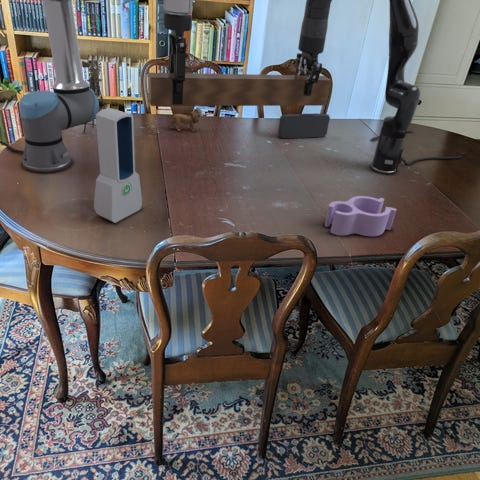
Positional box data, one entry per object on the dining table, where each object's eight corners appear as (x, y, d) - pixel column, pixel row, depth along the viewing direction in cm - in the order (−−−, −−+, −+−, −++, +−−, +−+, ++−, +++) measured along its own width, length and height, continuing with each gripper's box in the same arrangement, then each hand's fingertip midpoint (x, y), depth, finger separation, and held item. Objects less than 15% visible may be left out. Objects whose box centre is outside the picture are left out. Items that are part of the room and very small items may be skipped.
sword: (408, 129, 227) (409, 127, 226) (413, 131, 225) (414, 129, 224) (366, 140, 211) (366, 138, 210) (371, 143, 209) (371, 140, 208)
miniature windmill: (102, 136, 185) (96, 56, 168) (82, 132, 186) (74, 53, 169) (112, 128, 192) (107, 52, 176) (92, 125, 193) (86, 49, 177)
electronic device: (112, 224, 131) (106, 120, 115) (93, 216, 134) (84, 113, 118) (143, 208, 140) (140, 109, 124) (124, 200, 143) (119, 103, 127)
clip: (337, 240, 135) (342, 219, 131) (318, 218, 145) (322, 198, 141) (395, 233, 141) (402, 213, 137) (373, 213, 151) (378, 194, 147)
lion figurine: (199, 126, 204) (200, 106, 199) (202, 131, 200) (204, 110, 195) (166, 128, 199) (166, 107, 194) (169, 132, 195) (169, 111, 190)
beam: (151, 106, 132) (150, 77, 127) (148, 100, 136) (148, 72, 131) (326, 105, 148) (331, 80, 143) (319, 100, 151) (324, 75, 147)
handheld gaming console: (323, 134, 210) (328, 113, 204) (326, 137, 208) (331, 115, 202) (276, 136, 203) (280, 113, 197) (279, 138, 201) (282, 115, 195)
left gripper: (199, 19, 117) (194, 111, 129) (185, 8, 131) (182, 91, 144) (169, 17, 114) (168, 111, 127) (158, 6, 129) (158, 91, 141)
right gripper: (335, 39, 132) (324, 99, 141) (314, 30, 143) (305, 86, 152) (311, 38, 130) (301, 99, 139) (292, 29, 141) (284, 86, 150)
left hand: (175, 100), depth 135 cm, fingers closed on beam, 5 cm apart
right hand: (303, 92), depth 146 cm, fingers closed on beam, 5 cm apart
